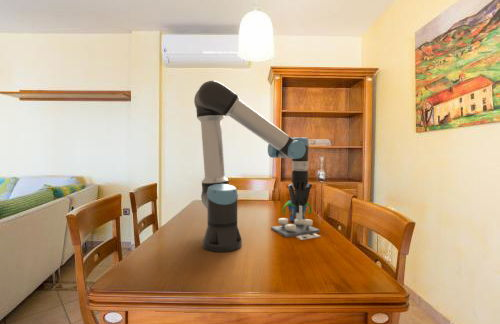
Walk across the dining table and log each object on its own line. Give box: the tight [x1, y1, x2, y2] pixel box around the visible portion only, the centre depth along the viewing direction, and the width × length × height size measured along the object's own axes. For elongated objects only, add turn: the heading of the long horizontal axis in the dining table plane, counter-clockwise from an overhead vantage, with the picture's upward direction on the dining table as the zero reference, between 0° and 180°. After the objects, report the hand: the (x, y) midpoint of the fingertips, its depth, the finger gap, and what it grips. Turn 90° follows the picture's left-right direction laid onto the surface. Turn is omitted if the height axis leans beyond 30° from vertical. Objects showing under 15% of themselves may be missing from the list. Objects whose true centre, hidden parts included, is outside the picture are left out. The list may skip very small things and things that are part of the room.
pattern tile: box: [295, 233, 322, 241], centre depth 120 cm, size 10×4×1 cm, turn 115°
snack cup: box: [282, 200, 312, 223], centre depth 147 cm, size 16×10×10 cm
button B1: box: [302, 218, 314, 228], centre depth 128 cm, size 5×5×3 cm
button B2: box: [293, 219, 303, 226], centre depth 134 cm, size 5×5×3 cm
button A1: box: [285, 223, 296, 232], centre depth 125 cm, size 5×5×3 cm
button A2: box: [277, 217, 289, 227], centre depth 130 cm, size 5×5×3 cm
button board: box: [271, 223, 321, 238], centre depth 130 cm, size 18×13×1 cm
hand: (299, 219), depth 134 cm, fingers closed
